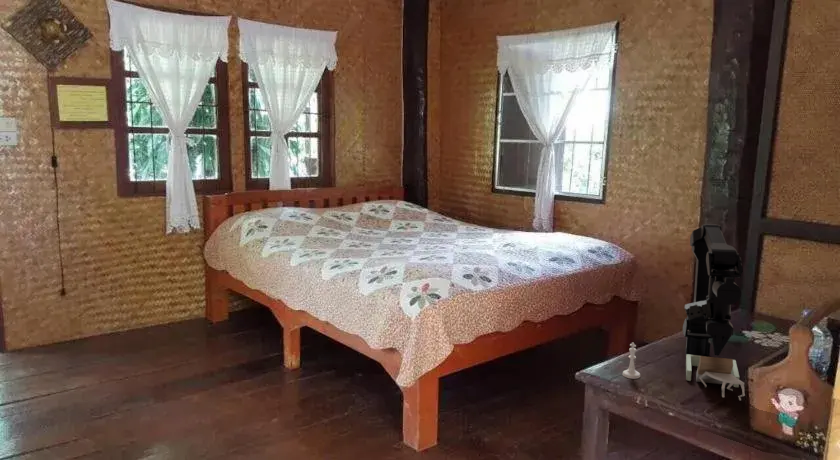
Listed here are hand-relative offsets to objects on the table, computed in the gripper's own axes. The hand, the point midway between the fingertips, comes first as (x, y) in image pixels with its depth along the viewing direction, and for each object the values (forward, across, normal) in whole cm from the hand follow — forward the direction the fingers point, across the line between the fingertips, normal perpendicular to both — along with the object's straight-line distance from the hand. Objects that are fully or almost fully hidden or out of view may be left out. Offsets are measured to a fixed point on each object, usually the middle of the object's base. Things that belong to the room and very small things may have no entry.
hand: (715, 349), depth 170 cm
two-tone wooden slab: (+11, -5, 0) cm, 12 cm away
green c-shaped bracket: (+11, -10, 0) cm, 15 cm away
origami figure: (+12, +2, +2) cm, 12 cm away
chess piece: (+12, -1, -22) cm, 24 cm away
